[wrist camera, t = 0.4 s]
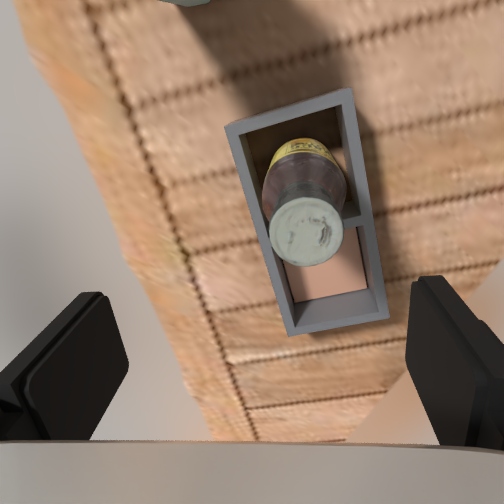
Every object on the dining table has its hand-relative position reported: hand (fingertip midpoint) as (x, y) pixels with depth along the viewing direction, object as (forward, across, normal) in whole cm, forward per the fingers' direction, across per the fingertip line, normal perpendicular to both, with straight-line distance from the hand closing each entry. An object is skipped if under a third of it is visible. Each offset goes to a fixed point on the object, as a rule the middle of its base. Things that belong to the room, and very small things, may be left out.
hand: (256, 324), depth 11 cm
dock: (+28, -3, +6) cm, 29 cm away
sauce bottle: (+29, -2, +1) cm, 29 cm away
